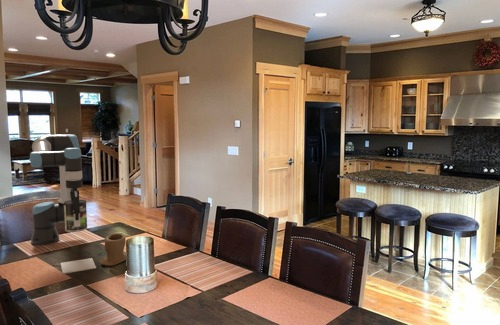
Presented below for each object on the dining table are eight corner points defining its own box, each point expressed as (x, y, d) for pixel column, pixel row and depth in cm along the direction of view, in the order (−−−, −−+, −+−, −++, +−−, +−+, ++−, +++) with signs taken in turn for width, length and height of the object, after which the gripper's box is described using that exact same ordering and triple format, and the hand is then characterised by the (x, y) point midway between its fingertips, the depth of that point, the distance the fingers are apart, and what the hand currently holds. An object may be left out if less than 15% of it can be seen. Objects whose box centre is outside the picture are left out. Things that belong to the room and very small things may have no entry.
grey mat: (60, 263, 200) (60, 263, 200) (92, 258, 208) (92, 258, 207) (62, 273, 187) (62, 272, 187) (96, 268, 194) (96, 267, 194)
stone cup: (113, 269, 193) (112, 239, 192) (96, 265, 199) (95, 236, 197) (136, 260, 206) (135, 232, 205) (120, 256, 212) (119, 228, 210)
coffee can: (91, 228, 196) (90, 201, 195) (71, 233, 188) (70, 204, 187) (80, 225, 203) (79, 198, 201) (60, 229, 195) (59, 201, 193)
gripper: (63, 177, 201) (66, 219, 203) (67, 183, 181) (69, 230, 184) (79, 176, 204) (81, 218, 207) (85, 182, 185) (87, 228, 187)
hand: (76, 223), depth 195 cm, fingers closed on coffee can, 10 cm apart
